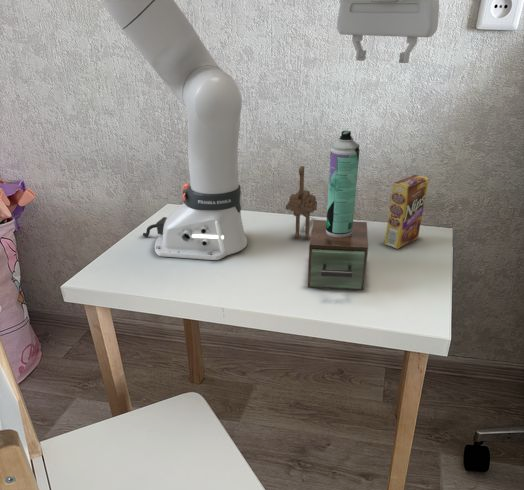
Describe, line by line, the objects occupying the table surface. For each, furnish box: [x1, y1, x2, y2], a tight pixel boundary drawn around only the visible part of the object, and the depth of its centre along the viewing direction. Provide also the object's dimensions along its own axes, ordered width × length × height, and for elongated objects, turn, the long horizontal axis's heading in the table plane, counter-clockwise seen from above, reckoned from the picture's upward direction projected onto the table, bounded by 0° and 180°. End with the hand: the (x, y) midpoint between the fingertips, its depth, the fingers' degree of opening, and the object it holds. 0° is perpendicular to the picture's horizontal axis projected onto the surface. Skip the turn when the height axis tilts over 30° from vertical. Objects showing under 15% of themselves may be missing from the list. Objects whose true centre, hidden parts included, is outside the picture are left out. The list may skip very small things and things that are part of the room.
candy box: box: [384, 174, 430, 250], centre depth 126 cm, size 9×4×15 cm, turn 134°
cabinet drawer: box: [310, 249, 365, 289], centre depth 110 cm, size 17×10×8 cm, turn 172°
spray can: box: [326, 130, 361, 238], centre depth 105 cm, size 6×6×20 cm
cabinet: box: [307, 219, 369, 291], centre depth 114 cm, size 14×12×10 cm
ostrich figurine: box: [285, 165, 318, 241], centre depth 132 cm, size 17×7×18 cm, turn 163°
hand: (381, 61), depth 110 cm, fingers open, 8 cm apart
